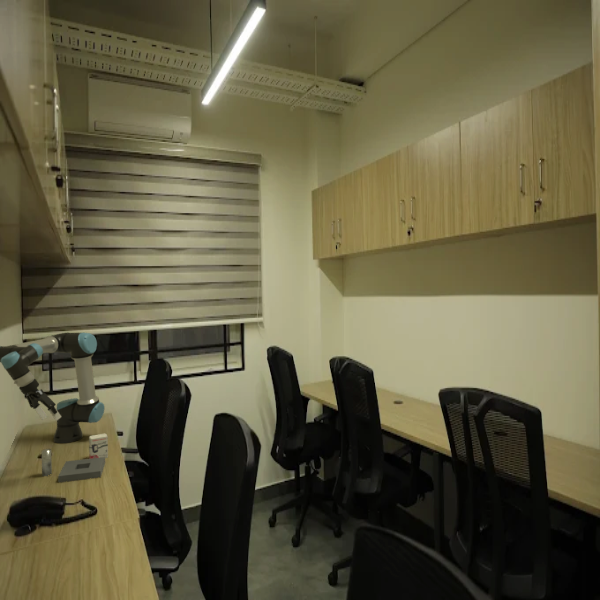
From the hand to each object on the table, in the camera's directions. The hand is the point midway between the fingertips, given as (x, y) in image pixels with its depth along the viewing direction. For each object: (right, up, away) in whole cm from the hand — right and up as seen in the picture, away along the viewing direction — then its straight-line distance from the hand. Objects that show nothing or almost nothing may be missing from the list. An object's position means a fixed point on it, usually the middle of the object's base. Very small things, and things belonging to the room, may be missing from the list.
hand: (51, 418), depth 211 cm
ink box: (+14, -26, +20) cm, 36 cm away
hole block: (+14, -27, +2) cm, 30 cm away
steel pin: (-2, -27, -1) cm, 27 cm away
